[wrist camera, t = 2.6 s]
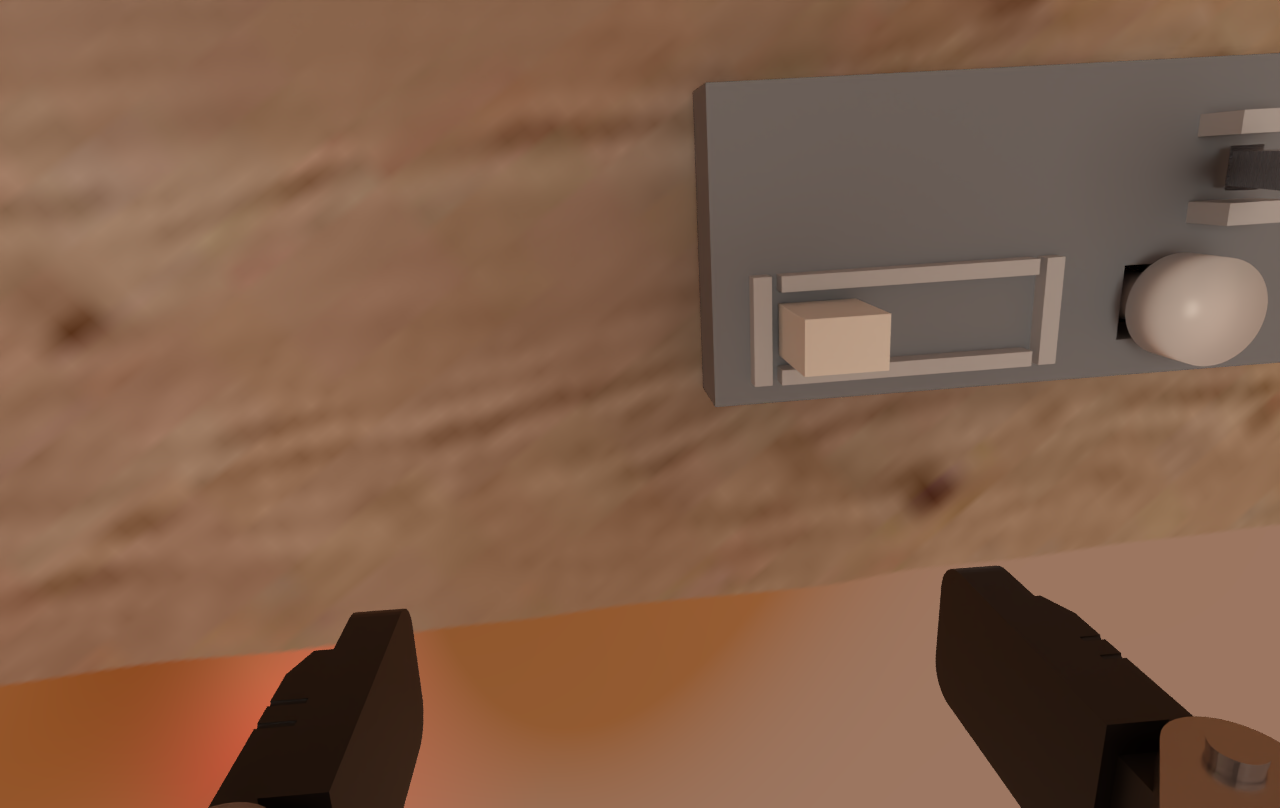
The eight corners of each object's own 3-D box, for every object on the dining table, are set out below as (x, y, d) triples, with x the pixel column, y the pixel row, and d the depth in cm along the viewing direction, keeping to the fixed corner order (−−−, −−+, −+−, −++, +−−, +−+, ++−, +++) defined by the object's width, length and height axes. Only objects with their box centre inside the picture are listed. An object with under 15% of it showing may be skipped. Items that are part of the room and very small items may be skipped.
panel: (692, 91, 30) (715, 75, 26) (1316, 59, 32) (1447, 38, 27) (703, 387, 34) (725, 422, 29) (1266, 343, 35) (1375, 369, 31)
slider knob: (778, 303, 30) (804, 319, 26) (855, 298, 30) (891, 313, 26) (778, 355, 30) (804, 377, 27) (854, 349, 30) (889, 370, 27)
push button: (1082, 248, 32) (1170, 261, 28) (1173, 242, 33) (1276, 253, 28) (1072, 342, 34) (1155, 370, 29) (1160, 336, 34) (1257, 361, 29)
